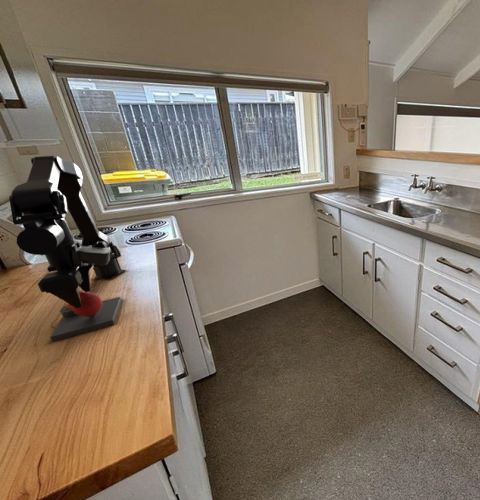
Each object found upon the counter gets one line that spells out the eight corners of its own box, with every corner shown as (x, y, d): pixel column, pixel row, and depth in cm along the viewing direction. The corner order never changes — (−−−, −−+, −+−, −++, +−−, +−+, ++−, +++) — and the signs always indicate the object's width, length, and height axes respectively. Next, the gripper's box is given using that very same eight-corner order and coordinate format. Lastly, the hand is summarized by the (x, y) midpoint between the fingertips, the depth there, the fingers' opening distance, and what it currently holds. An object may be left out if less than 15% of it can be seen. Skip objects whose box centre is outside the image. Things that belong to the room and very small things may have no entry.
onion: (103, 307, 78) (92, 282, 75) (109, 315, 74) (97, 288, 72) (75, 318, 74) (63, 291, 71) (80, 326, 70) (66, 298, 67)
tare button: (69, 306, 77) (67, 300, 77) (82, 303, 79) (80, 297, 78) (66, 311, 75) (63, 305, 74) (80, 307, 76) (77, 302, 76)
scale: (68, 313, 79) (63, 304, 78) (122, 300, 84) (119, 291, 83) (50, 342, 67) (44, 332, 66) (114, 324, 73) (110, 314, 72)
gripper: (92, 245, 62) (117, 305, 68) (107, 226, 77) (127, 276, 83) (21, 257, 57) (55, 321, 63) (53, 234, 72) (78, 287, 78)
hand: (83, 299), depth 72 cm, fingers open, 9 cm apart
